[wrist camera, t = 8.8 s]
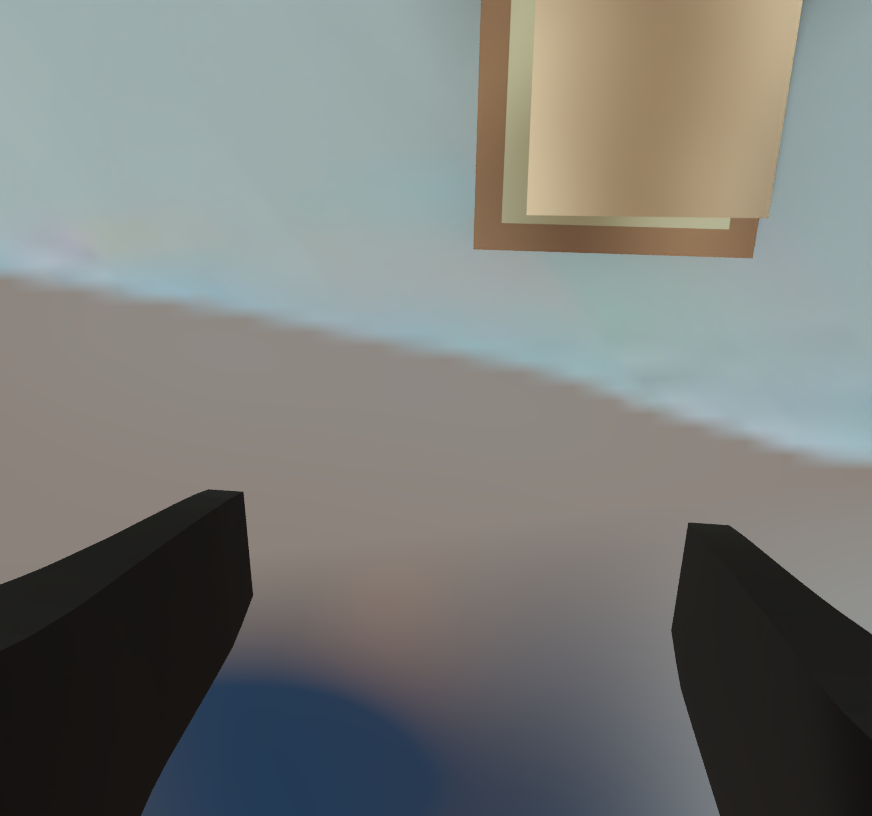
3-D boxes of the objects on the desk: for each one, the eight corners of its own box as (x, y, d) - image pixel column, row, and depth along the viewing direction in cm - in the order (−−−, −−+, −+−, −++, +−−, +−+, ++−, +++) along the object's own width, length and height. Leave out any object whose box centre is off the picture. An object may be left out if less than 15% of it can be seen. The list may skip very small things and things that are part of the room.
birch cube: (740, -16, 16) (812, -61, 12) (713, 195, 18) (768, 218, 14) (535, -12, 17) (537, -54, 13) (527, 193, 19) (526, 215, 14)
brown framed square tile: (789, -56, 17) (808, -69, 16) (739, 250, 20) (753, 258, 18) (486, -53, 18) (483, -65, 17) (476, 241, 20) (473, 249, 19)
